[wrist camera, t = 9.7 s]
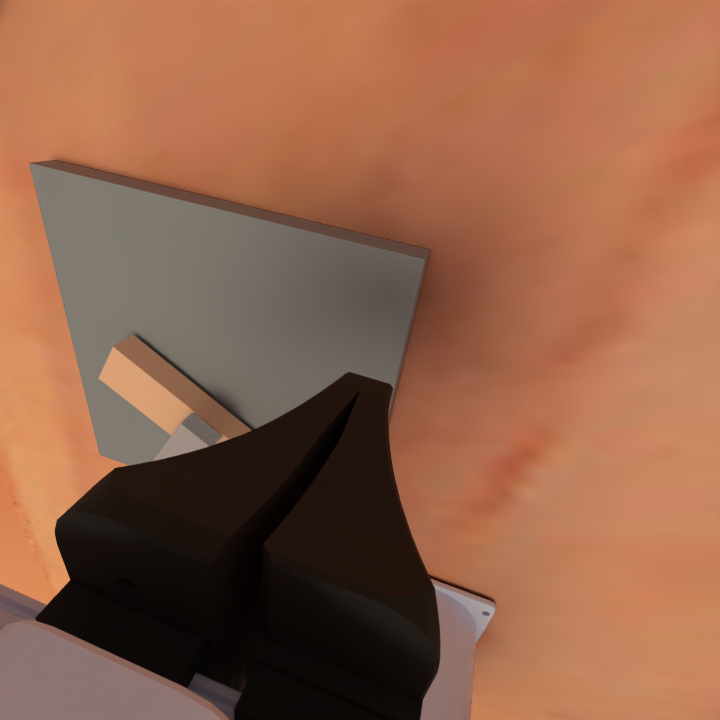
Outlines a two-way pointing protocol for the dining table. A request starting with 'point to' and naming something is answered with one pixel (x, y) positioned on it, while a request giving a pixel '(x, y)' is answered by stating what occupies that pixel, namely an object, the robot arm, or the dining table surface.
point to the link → (163, 390)
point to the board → (219, 298)
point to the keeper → (189, 438)
